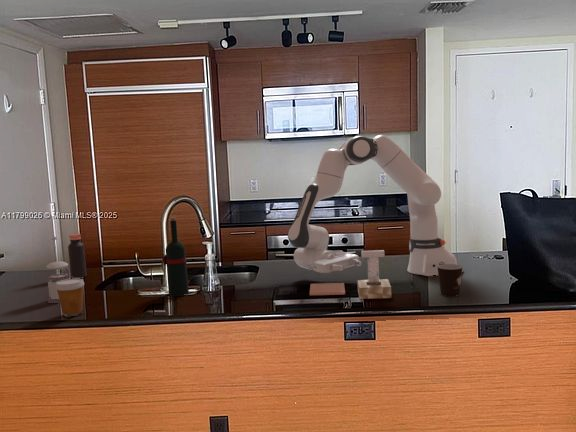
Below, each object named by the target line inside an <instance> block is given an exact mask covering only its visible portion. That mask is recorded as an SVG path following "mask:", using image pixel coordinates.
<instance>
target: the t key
mask: <svg viewBox="0 0 576 432" xmlns="http://www.w3.org/2000/svg"><path fill="white" fill-rule="evenodd" d="M383 257H385V250H384V249H380V250H379V249H375V250H361V258H367V280H368V285H379V279H380V259H379V258H383Z"/></svg>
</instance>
